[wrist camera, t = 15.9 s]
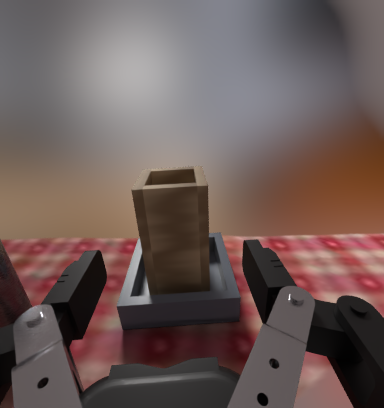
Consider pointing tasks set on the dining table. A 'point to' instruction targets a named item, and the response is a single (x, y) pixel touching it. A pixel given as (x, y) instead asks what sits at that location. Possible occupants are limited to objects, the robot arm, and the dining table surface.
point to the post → (10, 292)
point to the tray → (180, 295)
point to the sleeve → (173, 229)
